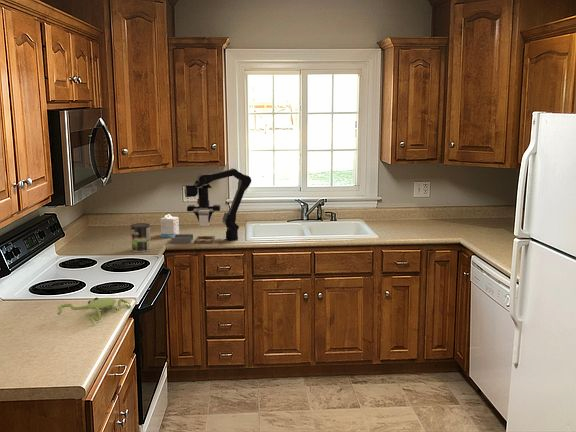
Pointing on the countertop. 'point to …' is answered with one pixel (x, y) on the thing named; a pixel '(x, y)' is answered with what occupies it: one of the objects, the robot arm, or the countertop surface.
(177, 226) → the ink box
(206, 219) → the grey-fronted drawer box
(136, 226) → the coffee can
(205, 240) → the walnut tray
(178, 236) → the grey drawer cabinet
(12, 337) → the countertop surface
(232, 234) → the robot arm
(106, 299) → the figurine
